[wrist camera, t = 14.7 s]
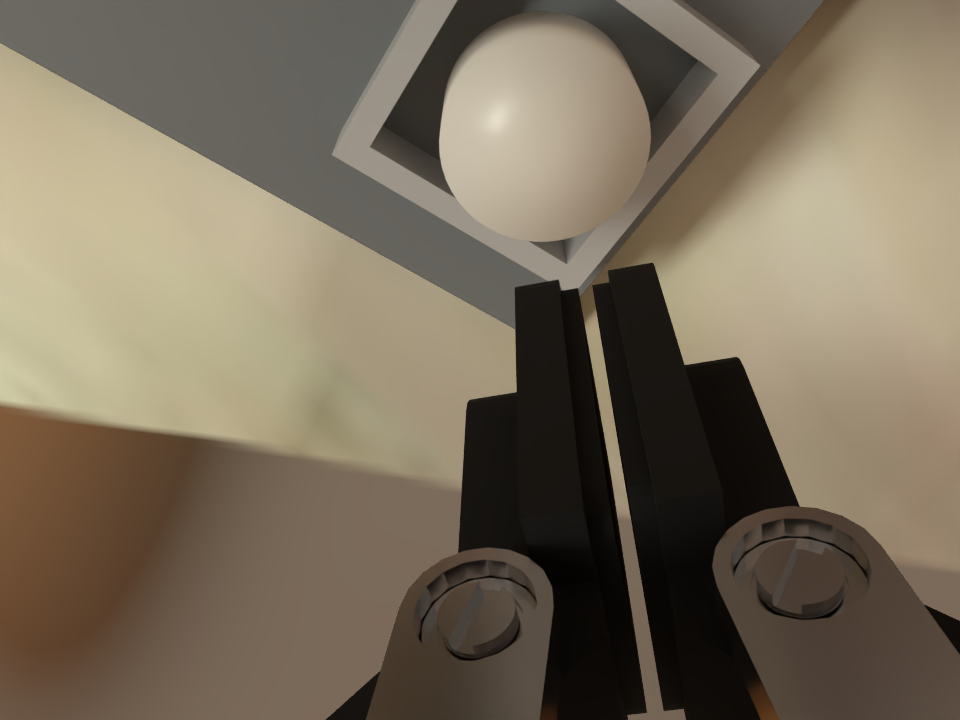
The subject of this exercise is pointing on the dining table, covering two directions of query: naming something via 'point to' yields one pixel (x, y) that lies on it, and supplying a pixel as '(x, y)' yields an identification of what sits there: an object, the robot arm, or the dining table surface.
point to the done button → (543, 127)
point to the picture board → (394, 106)
